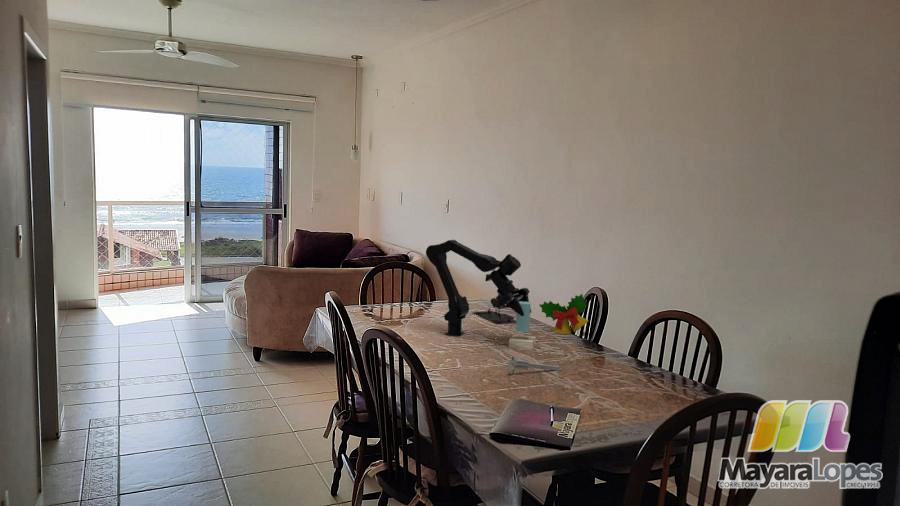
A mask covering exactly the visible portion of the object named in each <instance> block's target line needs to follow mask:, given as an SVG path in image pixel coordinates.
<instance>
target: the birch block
mask: <svg viewBox="0 0 900 506" xmlns="http://www.w3.org/2000/svg"><path fill="white" fill-rule="evenodd" d="M536 341H537V336H533V335H532V336H530V335H523V334H522V335H521V334H513V335H512V336H510V338H509V341H508V348H509V349H517V350H526V351H528V350H529V351H533V350H534V348H535V347H536V344H537V343H536Z"/></svg>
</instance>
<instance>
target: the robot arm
mask: <svg viewBox="0 0 900 506" xmlns="http://www.w3.org/2000/svg"><path fill="white" fill-rule="evenodd" d="M451 251H452V252H453V253H455V254H457V255H458V256H461V257H462V258H463V259H466V260H467V261H470V262H471V263H473V264H474V266H475V268H477V269H478V270H479V271H481V272H482V273H486V274H485V279H484V281H485V282H489V281H491V282H492V284H494V285H495V288H497V289H496V293H497V295H496V296H495V297H492V298H491V299H490V304H491V306H492V307H493V309H494V308H495V309H497V310H499V311H501V309H506V308H507V309H511V310H512V311H514V312H515V313H516V314H517V313H518V314H519V315H521V316H524V313H523V310H522V308H521V305H520V303H519V301H523V302H530V300H529V293H530V292H531V291H530V290H529V288H528V287H523V288H518V287H516V286H515V285H514V284H513V283H514V281H513V280H512V279H509V277H510V276H512V275H513V274H514V273H515V272H516V271H517V270H519V269H520V267H522V263H521V262H520V261H519V260H518V259H519V258H518V259H517V258H516V257H514V256H512V254H507V255H505V257H504V258H503V259H502V260H497V258H496V257H494V256H492V255H488V254H484V253H479V252H477V251H475V250H474V249H471V248H470V247H468V246H467V245H464V244H462V243H460V242H458V241H457V240H456V239H448V240H446V241H444V242H442V243H439V244H437V243H436V244H431V245H428V246H427V248H426V250H425V255H426V257H427V259H428V260H429V262H430V263H431V264H432V265H433V266H434V267H435V269H436V271H437V274H438V276H439V279H440V281H441V283H442V286H443V288H444V291H445V294H446V296H447V297H448V298H447V301H448V303H447V306H448V311H447V312H446V313H445V314H444V315H443V317H444V320H445V321H447V331H446V332H445V335H446V336H454V337H455V336H456V337H460V336H462V335H464V333H465V332H464V330H463V331H462V328H463V327H462V325H463V324H462V322H463V319H465V318H466V316H467V315H468V313H469V312H470V307H469V306H470V304H469V303H468V299H467V297H466V296H462V295H461V294H460V293H459V290H458V288H457V286H456V283H455V280H454V279H453V276H452V273H451V270H450V268H449V265H448V263H447V262H448V261H447V257H448V255H447V253H449V252H451ZM488 272H490V273H488ZM487 273H488V274H487ZM508 276H509V277H508ZM531 313H532V308H531V307H530V314H531Z"/></svg>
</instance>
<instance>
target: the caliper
mask: <svg viewBox="0 0 900 506" xmlns="http://www.w3.org/2000/svg"><path fill="white" fill-rule="evenodd" d="M517 358H518V357H517V356H513V355H512V356H511V358H510V359H509V361H508V364H507V374H508V375H511V373H512V374H513V375H516V374H517V372H518V370H519V368H520V369H522V370H526V371H527V370H528V369H537V370H538V369H539V370H545V371H547V370H548V371H554V372H557V371H563V370H564V368H562V367H561V366H559V365H550V364H541V363H535V362H530V361H527V360H521V359H517Z"/></svg>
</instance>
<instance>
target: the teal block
mask: <svg viewBox="0 0 900 506" xmlns="http://www.w3.org/2000/svg"><path fill="white" fill-rule="evenodd" d="M519 303H520V305H521V308H522V310H523V313H524V316H521V315H519V314H518V313H517V312H516V320H515V321H516V323H515V324H516V325H515V332H517V333H518V332H520V333H530V322H531V319H530V318H531V313H530V308H531V305H532V304H531V301H529V302H523V301H519Z"/></svg>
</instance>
